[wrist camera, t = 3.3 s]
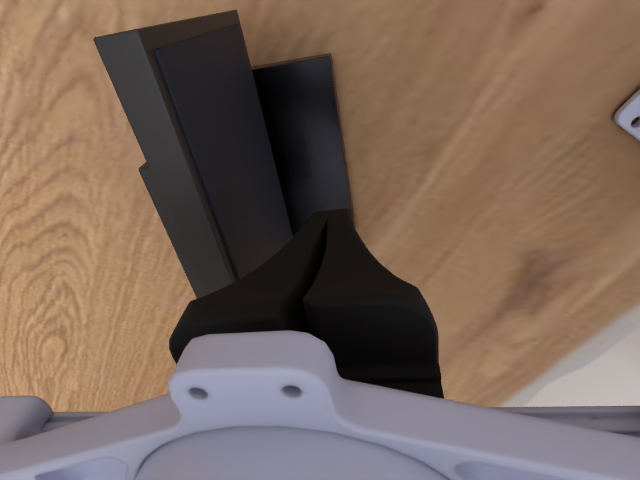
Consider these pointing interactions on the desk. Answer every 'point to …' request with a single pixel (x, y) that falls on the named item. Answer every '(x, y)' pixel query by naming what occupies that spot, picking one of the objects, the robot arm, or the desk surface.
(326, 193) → the monitor stand
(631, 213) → the desk surface
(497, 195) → the desk surface
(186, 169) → the screen
